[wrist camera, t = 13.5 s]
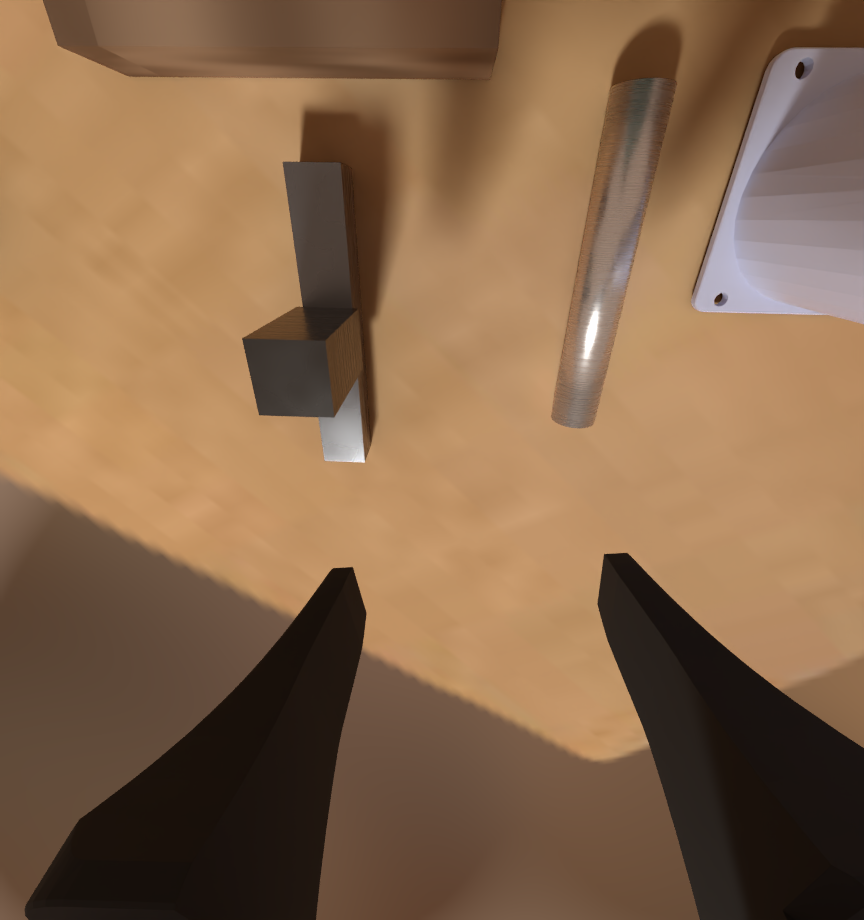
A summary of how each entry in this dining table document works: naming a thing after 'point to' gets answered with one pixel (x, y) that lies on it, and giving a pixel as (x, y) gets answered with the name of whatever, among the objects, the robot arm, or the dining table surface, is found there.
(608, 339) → the steel rod
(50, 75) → the dining table surface
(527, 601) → the dining table surface
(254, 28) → the wooden u-shaped frame
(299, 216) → the dark grey bar
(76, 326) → the dining table surface
